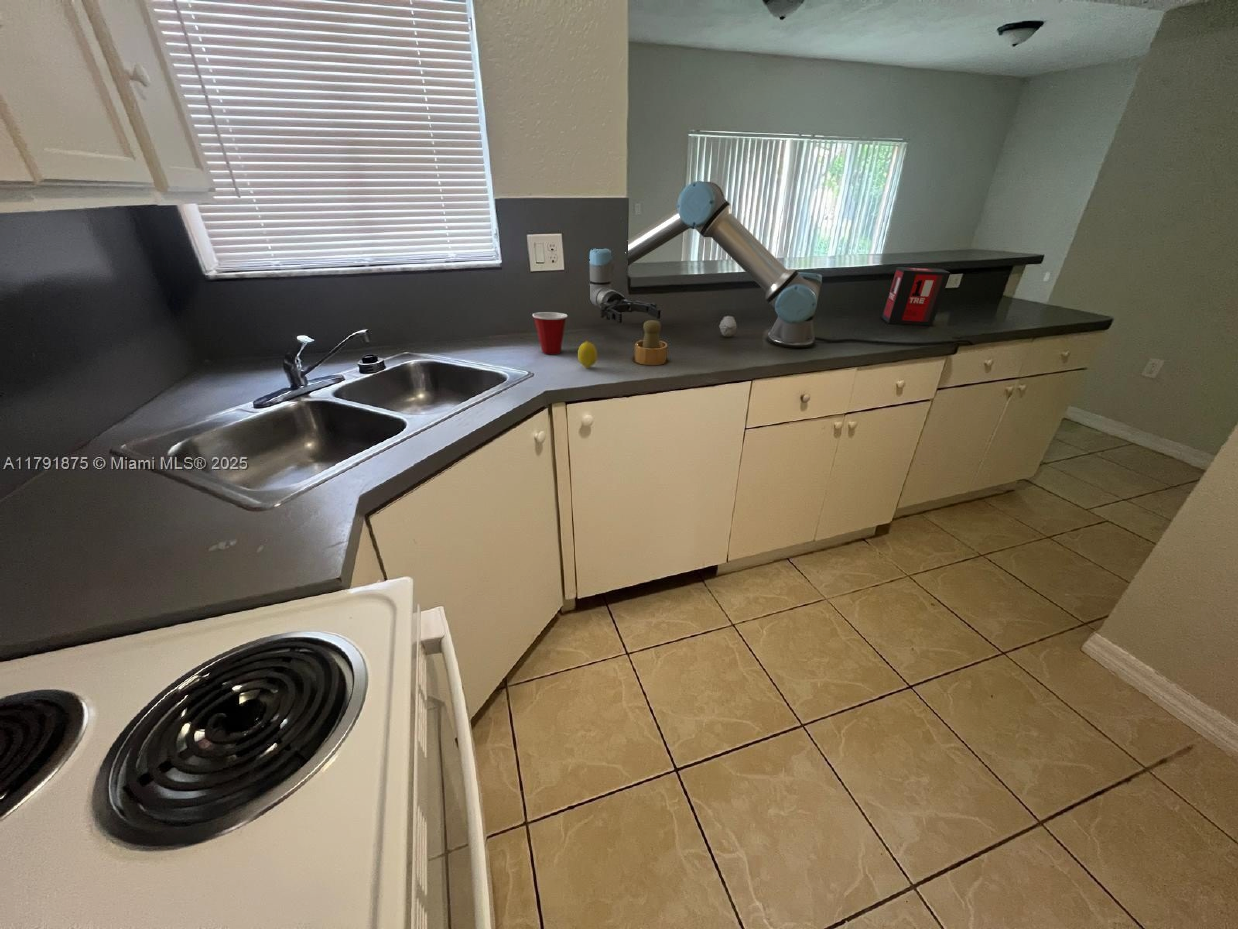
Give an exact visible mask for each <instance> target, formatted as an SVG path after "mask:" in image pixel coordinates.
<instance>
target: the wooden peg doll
mask: <svg viewBox="0 0 1238 929" xmlns="http://www.w3.org/2000/svg"><path fill="white" fill-rule="evenodd" d="M642 327H643V331H644V335H643V340H644V341H643V346H642V347H643V348H650V349H657V348H660V347H659V341H660V334H659V333H660V331H661V330H662V326H661V323H660V321H658V320H654V319H650V320H646V321H644V323H643V326H642Z"/></svg>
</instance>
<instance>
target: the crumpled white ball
mask: <svg viewBox="0 0 1238 929" xmlns="http://www.w3.org/2000/svg"><path fill="white" fill-rule="evenodd" d="M718 326H719V330H720V333H721V335H722V336H723V337H726V338H731V337H732V336H734V334H735V332H736V330H737V328H738V327H737V322H736V320H735V318H734V316H731V315H727V316H723V318H722V320H721V321H720V324H719V325H718Z"/></svg>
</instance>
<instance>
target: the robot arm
mask: <svg viewBox="0 0 1238 929" xmlns="http://www.w3.org/2000/svg"><path fill="white" fill-rule="evenodd" d="M689 229H691V230H696V231H697V232H698V233H699V234H700V235H701V236H702V237H703V238H711V239H712V240H713V241H714V242H715V243H716V244H717V245H718V246H719V247H720V248H721V249H722V250H723V251H724V252H725V253H726V254H727V255H728V256H729V257H730V258H731V259H732V260H733V261H734V262H735V263H736V264H737V265H738V266H739V267H740V268H741V269H742V270H743V271H744V272H745V273H746V275H748V276H749V277H750V278H751V279H752V280H753V281H754V282H755V283H756V284H757V285H758V286H759V287H760V288H761V289H762V290H763V291H764V293H765V295H764V296H765V298H764V299H765V301H767V302H768V303H769V305H771V306H772V307H773V308H774V311H775V313H776V315H777V318H776V320H775V322H774V324H773V326H772V327H771V329H770V331H769V333H768V337H767V340H768V342H769V343H770V344H773V345H776V346H778V347H782V348H783V347H784V348H792V349H805V348H810V347H811V348H812V347H813V346H814V342H815V341H820V342H821V341H822V342H826V343H841V342H843V343H844V342H853V343H854V342H855V343H866V344H879V345H881V344H882V345H896V346H929V345H941V344H956V343H957V344H958V343H965V342H966V343H969V344H970V345H971V346H976V344H975V342H974V341H973V340H971V339H970V338H969V339H968V338H961V339H947V340H946V339H945V340H935V341H912V342H911V341H887V340H873V339H864V338H863V339H862V338H837V339H836V338H835V339H834V338H833V339H831V338H824V337H819V336H815V331H814V317H815V313H816V309H817V308H818V301H819V296H820V290H821V287H822V284H823V276H822V274H820V273H813V272H812V273H811V272H802V271H801V272H798V271H797V270H796V269H795V268H794V269H788V268H786V267H785V265H783V264H782V263H781V262H780V261H779V259H777V258H776V257H775V256H774V255H773V254H772V253H771V252H770V251H769V250H768V249H767V248H766V247H765V245H763V244H762V243H761V242H760V241H759V240H758V239H757V238H756V236H754V235H753V233H752V232H750V231H749V229H748V228H747V227H745V225H744V224H743V223H742V222H741V221H740V220H739V219H738V218H737V217H736V216H734V215H733V213H732V204H731V203H729V201H728V200H727V199H726V198H725V195H724V192H723V189H722V188H721V187H720V186H719V184H717V183H715V182H712V181H703V180H696V181H693V182H691V183H689V184H688V185H686V186H685V187H684V188H683V189H682V190H681V192H680V194H679V195H678V198H677V207H676V208H675V209H674V210H672V211H671V212H669V213H667V214H666V215H664V216H663V217H661V218H660V219H658V220H656V221H655V222H653V223H652V224H650V225H649V226H648V227H646V228H645V229H643V230H642V231H639V232H638V233H636V234H635V235H634V236H632V237H630V238H629V239H628V240H627V241H628V257H627V260H628V266H627V267H629V266H631V265H632V264H634V263H635V262H636V261H639V260H640V259H642V258H643V257H645V256H647V255H648V254H650V253H651V252H653V251H655V250H656V249H658V248H660V247H661V246H663V245H664V244H666V243H668V242H670V241H671V240H673V239H674V238H676V237H678V236H679V235H681V234H683V233H684V232H687V230H689ZM592 249H593V250H592ZM592 249H591V250H590V251H589V259H590V261H589V260H588V263H589V285H590V300H591V302H592V304H594V305H595V306H594V305H593V306H594V307H596V306H597V307H596V308H599V317H600V318H601V319H603V318H605V319H606V320H605V321H611V320H613V321H615V322H617V323H619V324H621V323H622V322H623V315H622V313H633V312H636V313H645V314H648V315H649V316H651V317H653V318H656V319H658V320H659V319H661V309H659V308H658V306H657V304H656V303H654V302H646V301H641V300H638V299H633V300H628V299H626V298H625V296H624V294H622V293H620V292H618V291H616V290H614V289H612V275H611V273H612V271H613V269H614V263H613V261H612V260H611V259H612V256H611V251H612V250H610V249H609V248H604V249H596V248H592ZM625 254H626V252H625ZM590 283H591V284H590ZM594 284H595V285H594ZM592 304H591V305H592Z"/></svg>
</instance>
